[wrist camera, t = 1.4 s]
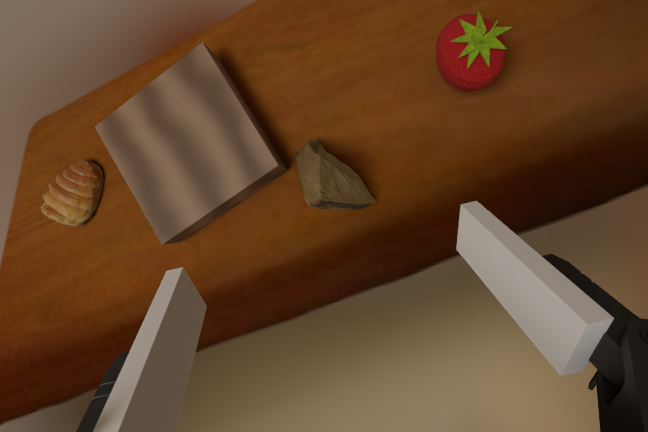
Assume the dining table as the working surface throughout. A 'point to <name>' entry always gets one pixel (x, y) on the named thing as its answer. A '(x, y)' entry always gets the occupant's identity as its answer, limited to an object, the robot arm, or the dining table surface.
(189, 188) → the walnut base
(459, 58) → the strawberry
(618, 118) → the dining table surface
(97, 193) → the pastry
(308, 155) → the rock
